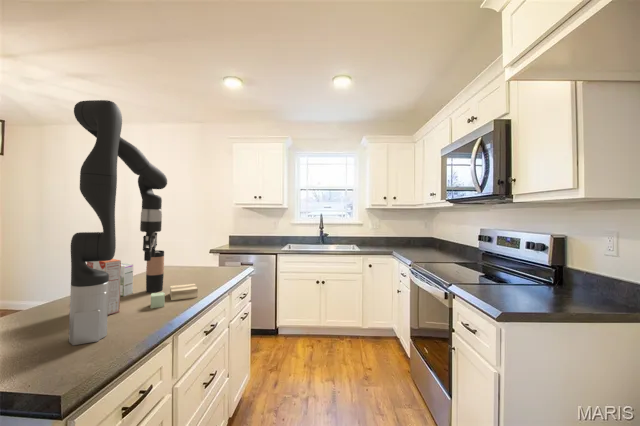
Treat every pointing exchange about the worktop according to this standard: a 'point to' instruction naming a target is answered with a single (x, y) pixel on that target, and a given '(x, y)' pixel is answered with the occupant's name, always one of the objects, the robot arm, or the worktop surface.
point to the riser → (183, 291)
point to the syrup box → (126, 279)
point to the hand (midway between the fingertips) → (149, 258)
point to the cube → (157, 299)
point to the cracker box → (110, 281)
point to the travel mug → (155, 272)
